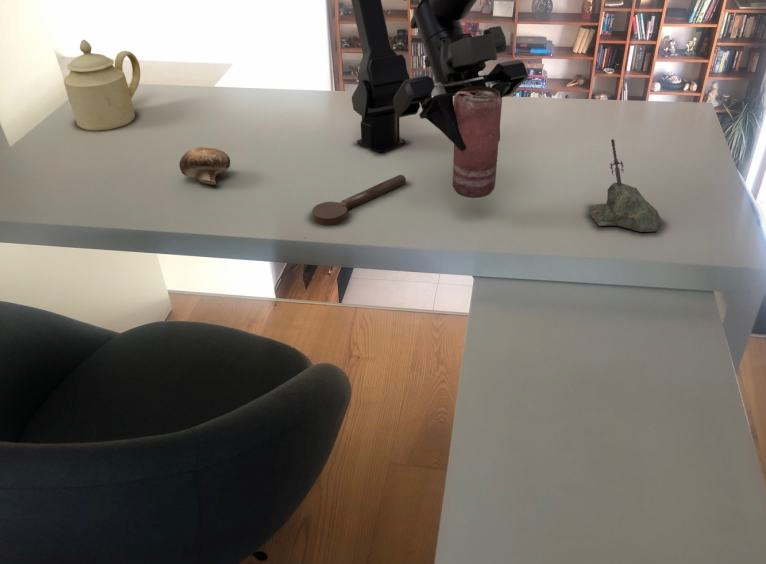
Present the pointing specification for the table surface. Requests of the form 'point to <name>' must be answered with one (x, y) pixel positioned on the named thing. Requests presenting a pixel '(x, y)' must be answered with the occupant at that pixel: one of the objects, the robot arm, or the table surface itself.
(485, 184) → the can
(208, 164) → the mushroom
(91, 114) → the beige ceramic pot
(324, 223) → the wooden spoon
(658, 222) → the sword in stone
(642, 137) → the table surface
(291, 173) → the table surface
